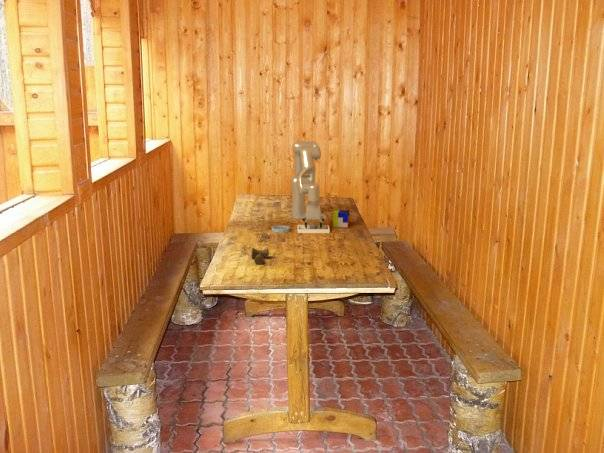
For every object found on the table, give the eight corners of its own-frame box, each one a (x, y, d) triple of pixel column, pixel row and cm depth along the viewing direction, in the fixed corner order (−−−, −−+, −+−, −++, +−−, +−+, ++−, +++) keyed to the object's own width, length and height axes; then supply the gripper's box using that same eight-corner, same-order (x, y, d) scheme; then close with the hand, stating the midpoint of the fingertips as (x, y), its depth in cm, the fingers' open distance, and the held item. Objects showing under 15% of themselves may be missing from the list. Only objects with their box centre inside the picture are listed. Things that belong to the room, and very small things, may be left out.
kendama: (249, 265, 320) (252, 254, 339) (267, 266, 320) (268, 255, 339) (250, 255, 318) (252, 244, 337) (267, 255, 318) (269, 245, 338)
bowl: (272, 228, 404) (272, 225, 403) (289, 228, 404) (289, 225, 403) (271, 232, 392) (271, 229, 391) (289, 232, 392) (289, 229, 392)
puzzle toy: (347, 227, 409) (347, 213, 407) (333, 226, 411) (333, 212, 409) (349, 224, 419) (349, 210, 416) (335, 223, 420) (335, 209, 418)
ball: (309, 229, 400) (309, 222, 399) (316, 229, 400) (316, 222, 399) (309, 231, 396) (309, 224, 394) (317, 231, 396) (317, 224, 394)
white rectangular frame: (297, 228, 404) (297, 224, 404) (328, 228, 404) (328, 225, 404) (297, 233, 391) (297, 229, 391) (329, 233, 392) (329, 229, 391)
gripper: (326, 202, 397) (325, 227, 401) (300, 202, 397) (300, 226, 401) (326, 204, 390) (326, 229, 394) (300, 204, 390) (300, 229, 394)
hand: (313, 228), depth 397 cm, fingers open, 9 cm apart
